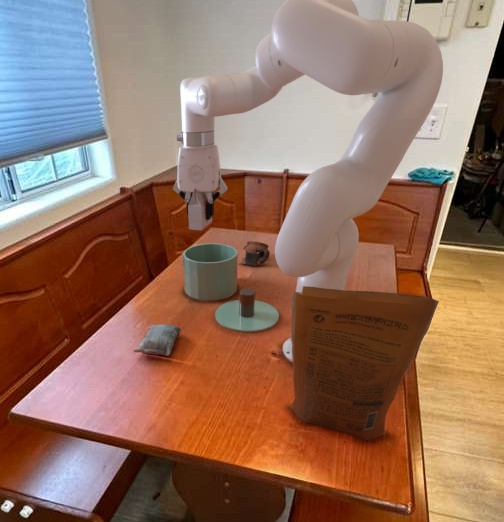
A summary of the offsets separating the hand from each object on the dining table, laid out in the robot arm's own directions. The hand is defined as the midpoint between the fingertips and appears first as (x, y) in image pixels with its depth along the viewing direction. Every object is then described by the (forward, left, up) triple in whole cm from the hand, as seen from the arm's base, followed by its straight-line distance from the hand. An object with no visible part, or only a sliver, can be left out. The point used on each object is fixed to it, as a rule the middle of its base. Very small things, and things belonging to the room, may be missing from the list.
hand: (200, 217), depth 104 cm
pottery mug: (+32, -10, -25) cm, 41 cm away
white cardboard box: (0, 0, -3) cm, 3 cm away
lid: (-7, -14, -24) cm, 29 cm away
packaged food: (-26, +3, -25) cm, 36 cm away
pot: (+7, 0, -24) cm, 25 cm away
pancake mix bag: (-41, -38, -25) cm, 61 cm away
